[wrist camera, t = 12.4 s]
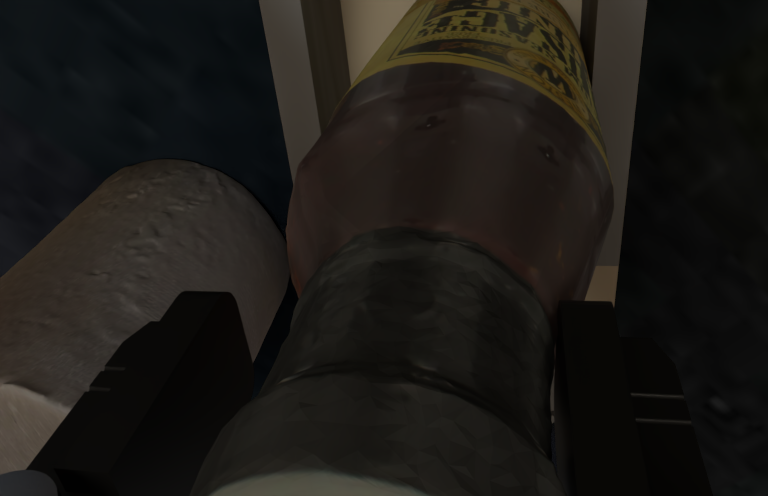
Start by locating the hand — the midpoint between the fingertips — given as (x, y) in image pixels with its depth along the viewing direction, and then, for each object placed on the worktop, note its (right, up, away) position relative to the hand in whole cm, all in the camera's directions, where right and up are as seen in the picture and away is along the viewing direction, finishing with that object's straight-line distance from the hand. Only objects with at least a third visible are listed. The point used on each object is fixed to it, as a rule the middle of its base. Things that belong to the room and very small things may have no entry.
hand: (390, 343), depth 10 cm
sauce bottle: (+3, +8, +13) cm, 16 cm away
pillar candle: (-9, +2, +21) cm, 23 cm away
